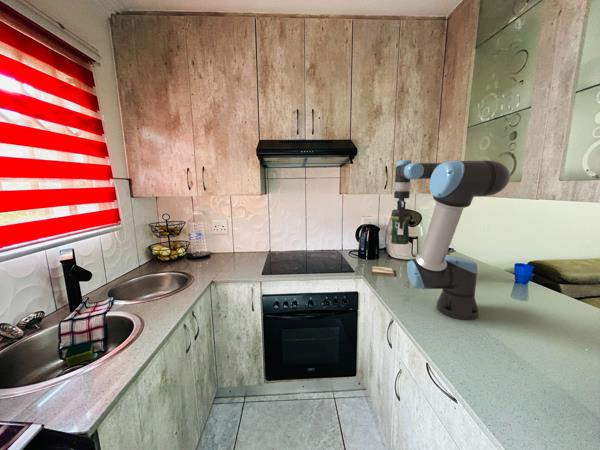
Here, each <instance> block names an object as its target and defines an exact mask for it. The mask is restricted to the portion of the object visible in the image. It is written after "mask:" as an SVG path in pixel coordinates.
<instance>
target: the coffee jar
mask: <svg viewBox="0 0 600 450" xmlns="http://www.w3.org/2000/svg"><path fill="white" fill-rule="evenodd" d="M390 219H391V229H390V237H389V243H391V244H393V245H407V244H409V243H410V233H409V223H410V220H411V212H410V210H409V209H405V218H404V220H405V221H404V229H403V235H398V222H397V221H399V210H398V209H397V208H396V209H393V210H392V211H391V216H390ZM400 220H402V219H400Z"/></svg>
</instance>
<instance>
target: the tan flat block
mask: <svg viewBox="0 0 600 450" xmlns="http://www.w3.org/2000/svg"><path fill="white" fill-rule="evenodd" d="M370 269H371V272H370V275H371V276H383V277H394V278H395V271H394V267H389V266H388V267H386V266H373V265H372V266H371V268H370Z"/></svg>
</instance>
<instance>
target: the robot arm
mask: <svg viewBox="0 0 600 450" xmlns="http://www.w3.org/2000/svg"><path fill="white" fill-rule="evenodd" d="M394 168H395V173H394V174H395V175H394V176H395V177H394V184H393V187H394V191H393V192H394V194H393V196H394V197H393V198H394V199H398V200H397V201H396V204H397V207H396V209H398V210H399V221H397V222H398V235H403V229H404V221H405V220H404V218H405V210H406V203H407V202H406V201H405V199H409V198H410V193H411V191H410V190H411V180H429V183H428V184H429V186H428V187H429V192H430V194H431V195H432V199H433V200H434V202H435V205H434V208H433V212H432V214H431V218H430V222H429V226H428V229H427V232H426V236H425V238H424V243H423V245H422V249H421V252H418V253H417V254H416V255H415V258H414V260H409V261H407V263H406V271H407V272H406V273H407V277H408V280H409V282H410V286H412V287H413V288H414V289H417V290H441V292H440V294H439V297H438V299H437V301H436V309H437V310H438V312H440V313H442V315H445V316H448V317H450V318H454V319H457V320H464V321H465V320H466V321H468V320H469V321H471V320H475V319H477V318H478V317H479V308H478V304H477V300H476V286H477V276H478V275H479V273H478V264H477V263H476V262H475V261H474V260H470V259H467V258H465V257H461V256H455V255H448V252H449V248H450V246H451V244H452V240H453V239H454V235H455V233H456V229H457V226H458V225H459V221H460V219H461V216H462V213H463V211H464V209H466V208H468V207H470V206H471V204H472V203H473V202H472V201H473V199H474V198H475V197H489V196H494V195H495V194H496V195H497V194H498V193H500V192H502V191H503V190H504V189H505V188H506V187H507V186H508V184H509V182H510V179H511V174H510V171H509V168H508V167H507V166H506V165H505V164H504V163H501V162H499V161H495V160H451V161H444V162H412V160H409V159H402V160H401V159H400V160H397V161H396V162H395V167H394ZM400 219H402V220H400Z"/></svg>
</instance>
